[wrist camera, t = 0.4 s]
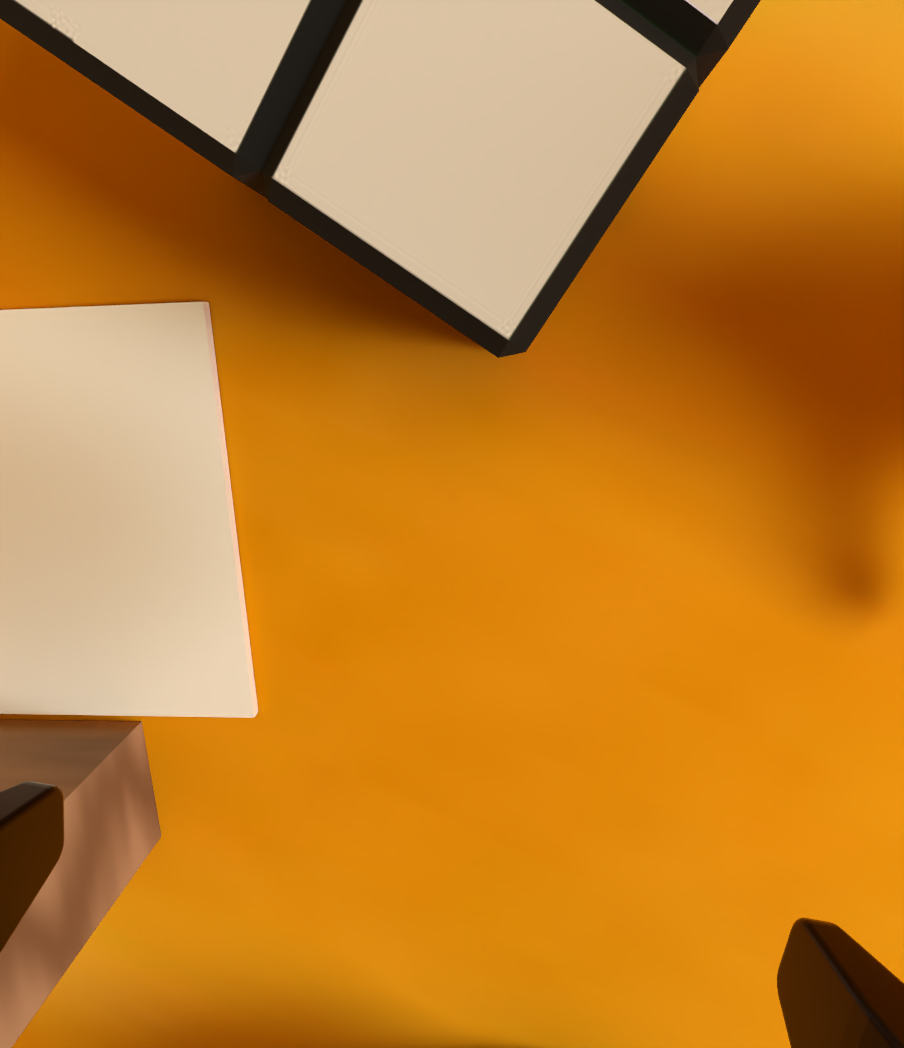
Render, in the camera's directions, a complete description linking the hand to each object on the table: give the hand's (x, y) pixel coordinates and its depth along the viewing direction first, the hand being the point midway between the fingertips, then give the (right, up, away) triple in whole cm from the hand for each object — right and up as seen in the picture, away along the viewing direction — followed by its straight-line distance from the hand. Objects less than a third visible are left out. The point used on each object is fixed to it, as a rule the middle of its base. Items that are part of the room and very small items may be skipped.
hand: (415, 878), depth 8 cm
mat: (-15, +4, +15) cm, 21 cm away
